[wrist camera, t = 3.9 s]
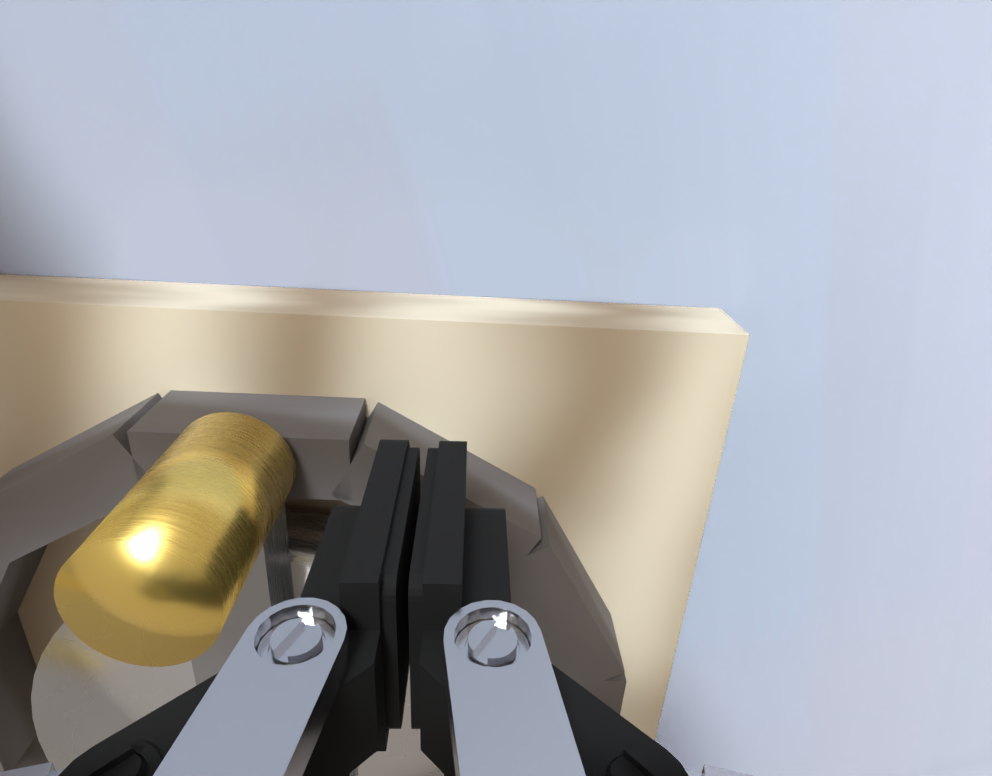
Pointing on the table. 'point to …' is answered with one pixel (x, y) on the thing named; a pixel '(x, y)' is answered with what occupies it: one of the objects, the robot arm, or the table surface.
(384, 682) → the robot arm
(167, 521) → the dial
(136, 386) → the dial plate
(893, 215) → the table surface
